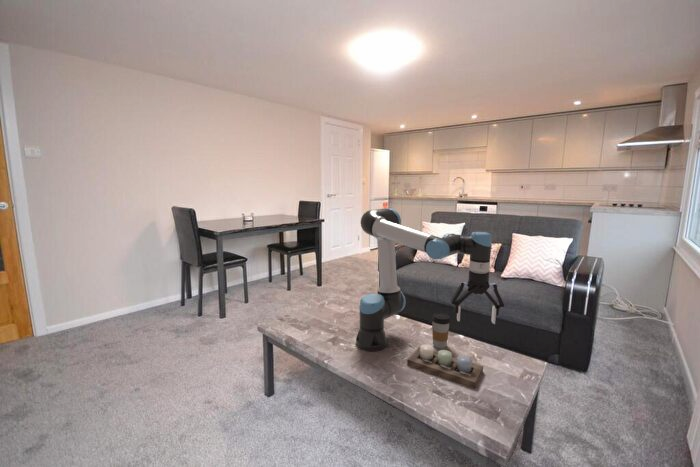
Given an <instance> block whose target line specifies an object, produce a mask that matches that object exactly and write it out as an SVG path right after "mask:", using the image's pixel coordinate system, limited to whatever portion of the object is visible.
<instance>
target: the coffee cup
mask: <svg viewBox="0 0 700 467" xmlns="http://www.w3.org/2000/svg"><path fill="white" fill-rule="evenodd" d="M431 321H432V323H431V324H432V330H431V331H432V332H431V333H432V345H433V346H434V347H435V348H437V349H441V350H443V349H445V348H446V347H447V345H448V339H449V332H450V324H451V318H450V316H449V314H447V313H443V312H436V313H435V312H434V313H433V315H432V318H431Z"/></svg>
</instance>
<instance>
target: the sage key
mask: <svg viewBox="0 0 700 467" xmlns="http://www.w3.org/2000/svg"><path fill="white" fill-rule="evenodd" d="M437 352H438V365H440V366H442V367H448V366H449V365H451V362H452V357H453V354H452V352H451V351H449V350H446V349H441V350H438V351H437Z"/></svg>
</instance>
